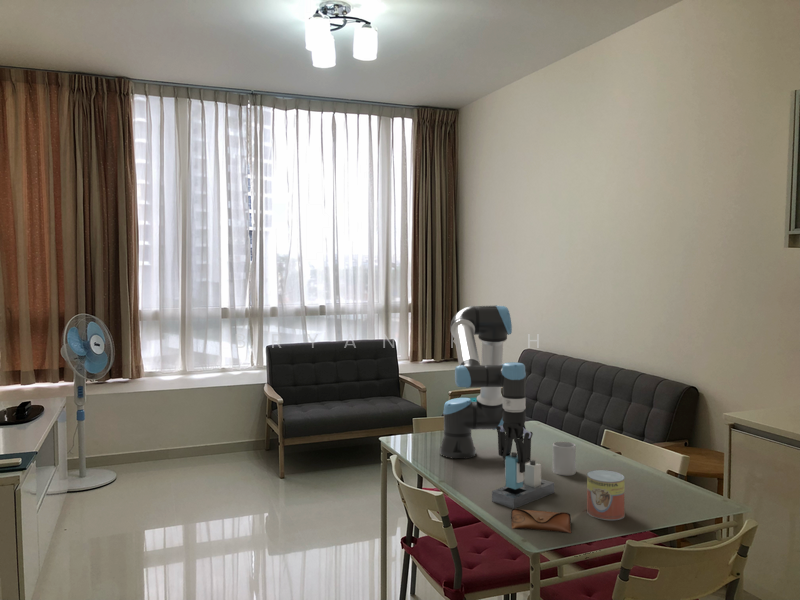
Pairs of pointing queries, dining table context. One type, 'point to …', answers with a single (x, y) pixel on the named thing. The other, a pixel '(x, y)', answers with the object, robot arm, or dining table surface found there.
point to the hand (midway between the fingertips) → (514, 479)
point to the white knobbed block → (532, 474)
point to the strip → (521, 494)
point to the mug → (564, 458)
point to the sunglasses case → (541, 520)
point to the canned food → (605, 494)
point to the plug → (512, 471)
